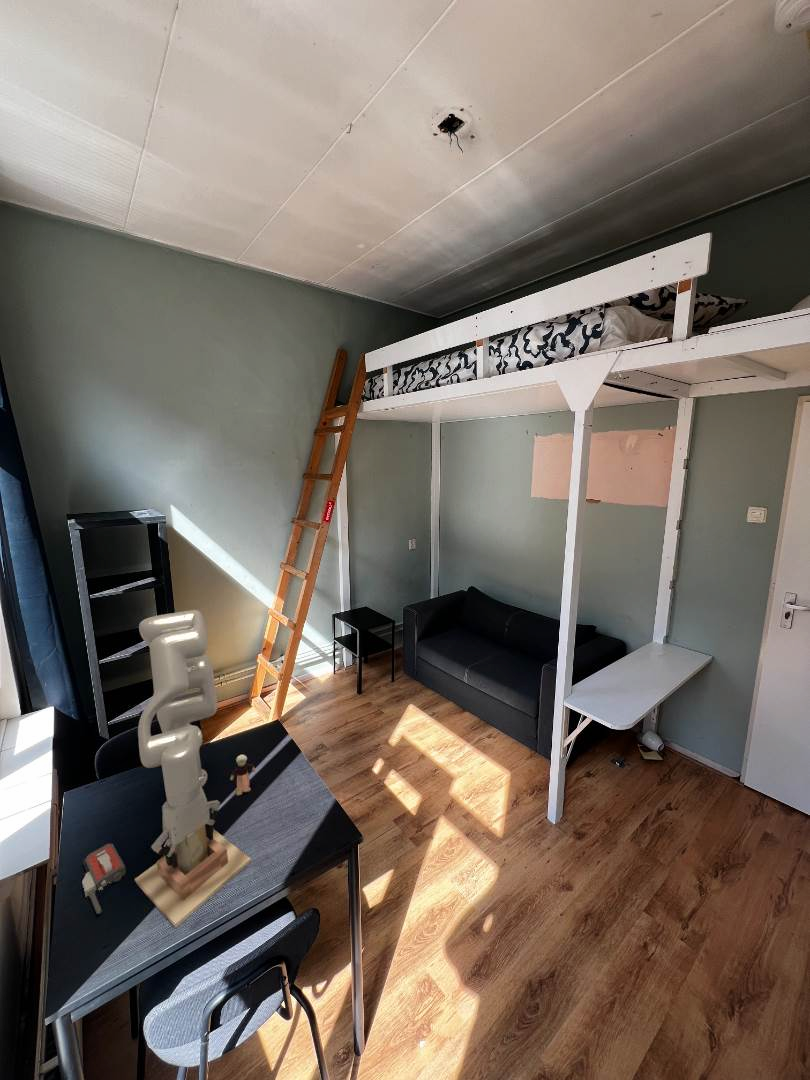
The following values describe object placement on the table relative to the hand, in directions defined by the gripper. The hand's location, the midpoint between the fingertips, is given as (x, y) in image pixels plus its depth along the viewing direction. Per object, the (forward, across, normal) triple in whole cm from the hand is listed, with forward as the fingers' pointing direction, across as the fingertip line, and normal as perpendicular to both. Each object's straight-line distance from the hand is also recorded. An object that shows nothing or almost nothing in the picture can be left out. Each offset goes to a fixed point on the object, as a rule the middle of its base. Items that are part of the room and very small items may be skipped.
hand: (191, 850), depth 112 cm
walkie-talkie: (+7, +14, -17) cm, 23 cm away
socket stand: (+6, 0, 0) cm, 6 cm away
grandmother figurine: (+7, -25, -14) cm, 29 cm away
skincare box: (+6, 0, 0) cm, 6 cm away
